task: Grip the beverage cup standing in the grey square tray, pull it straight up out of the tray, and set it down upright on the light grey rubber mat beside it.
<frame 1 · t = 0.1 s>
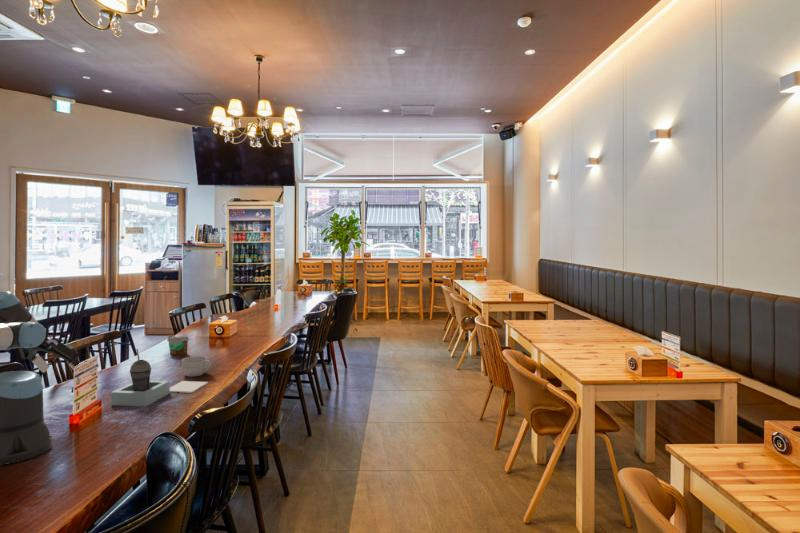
hand: (63, 370, 153), 15 cm above the table, tool tilted 35°, fingers open, 13 cm apart
teacup: (197, 375, 196), on the table
food container: (175, 355, 231), on the table
grey mat: (187, 387, 179), on the table
grey square tray: (141, 398, 166), on the table
beverage cup: (141, 399, 166), resting in grey square tray
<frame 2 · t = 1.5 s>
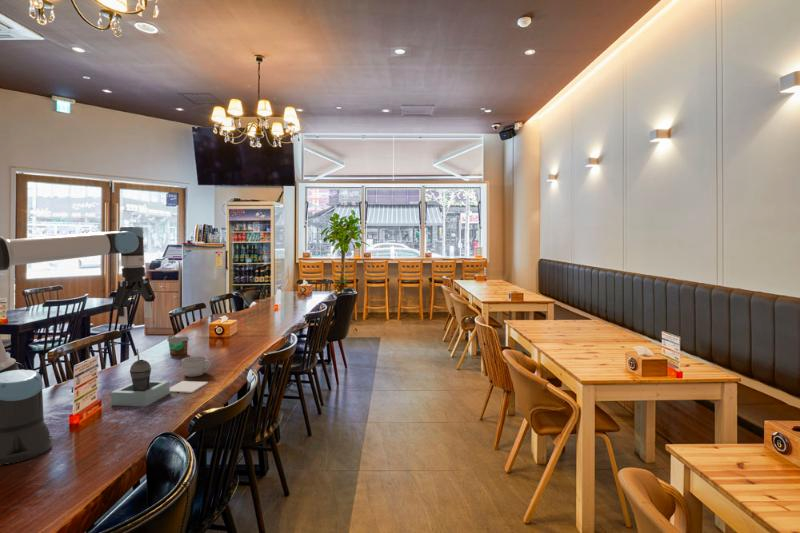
hand: (136, 321, 164), 31 cm above the table, tool pointing down, fingers open, 13 cm apart
nothing on the table moved.
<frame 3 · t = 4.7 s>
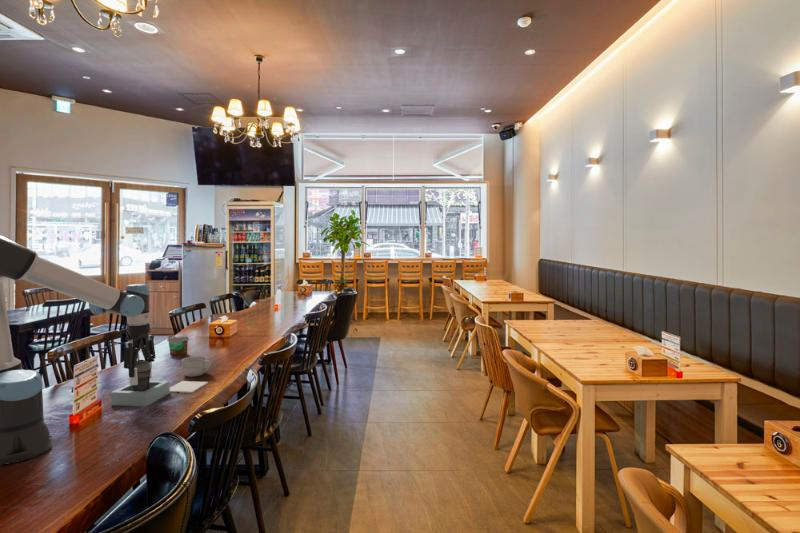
hand: (141, 381, 166), 7 cm above the table, tool pointing down, fingers closed on beverage cup, 7 cm apart
beverage cup: (141, 399, 166), resting in grey square tray, touching gripper
everything else where it was.
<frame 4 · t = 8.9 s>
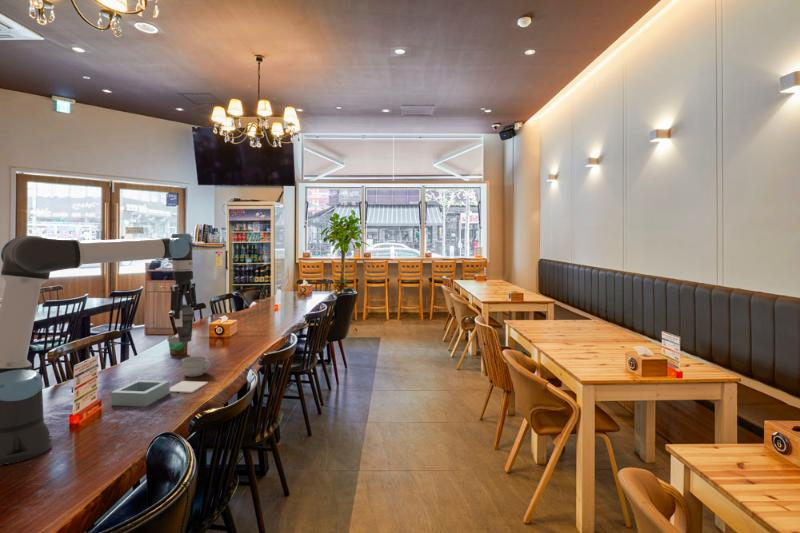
hand: (184, 324, 177), 27 cm above the table, tool pointing down, fingers closed on beverage cup, 7 cm apart
beverage cup: (185, 341, 178), point 20 cm above the table, touching gripper
everything else where it was.
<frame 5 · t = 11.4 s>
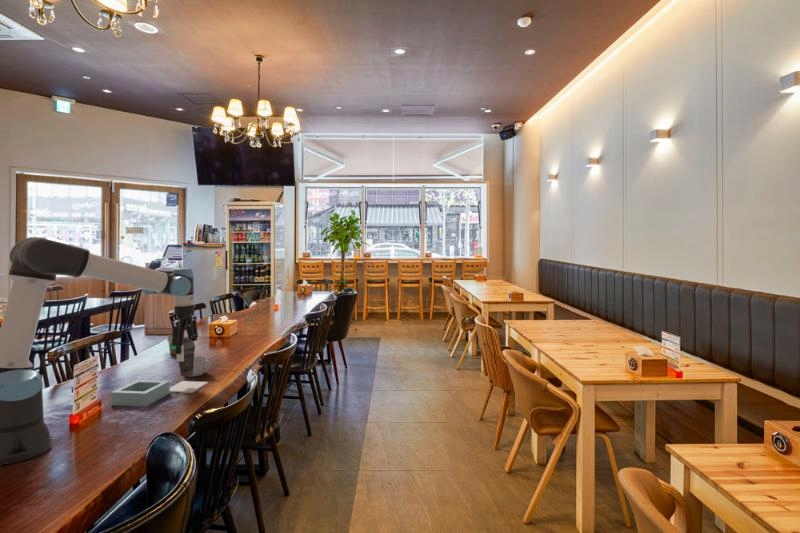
hand: (186, 358, 179), 13 cm above the table, tool pointing down, fingers closed on beverage cup, 7 cm apart
beverage cup: (186, 375, 179), point 5 cm above the table, touching gripper
everything else where it was.
when the fingers open (9 cm above the table, at t = 13.1 s): beverage cup drops 1 cm, resting on grey mat.
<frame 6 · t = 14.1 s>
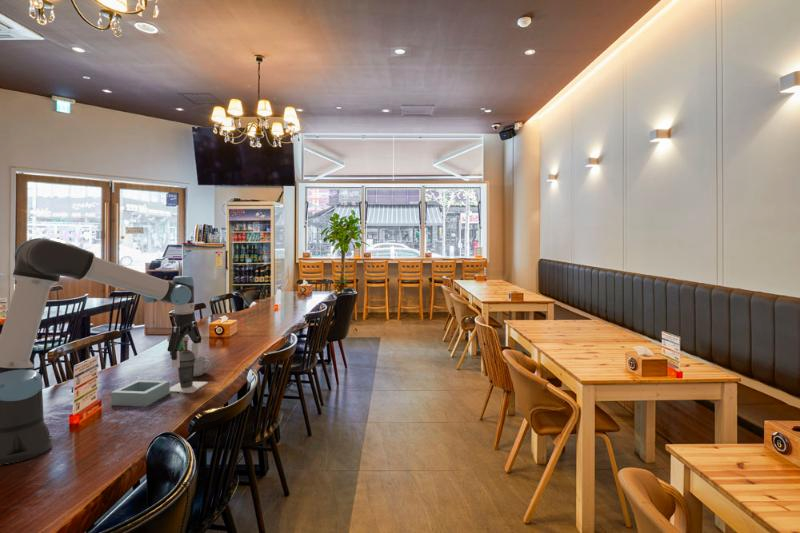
hand: (186, 362, 179), 11 cm above the table, tool pointing down, fingers open, 13 cm apart
beverage cup: (186, 386, 179), resting on grey mat
everything else where it was.
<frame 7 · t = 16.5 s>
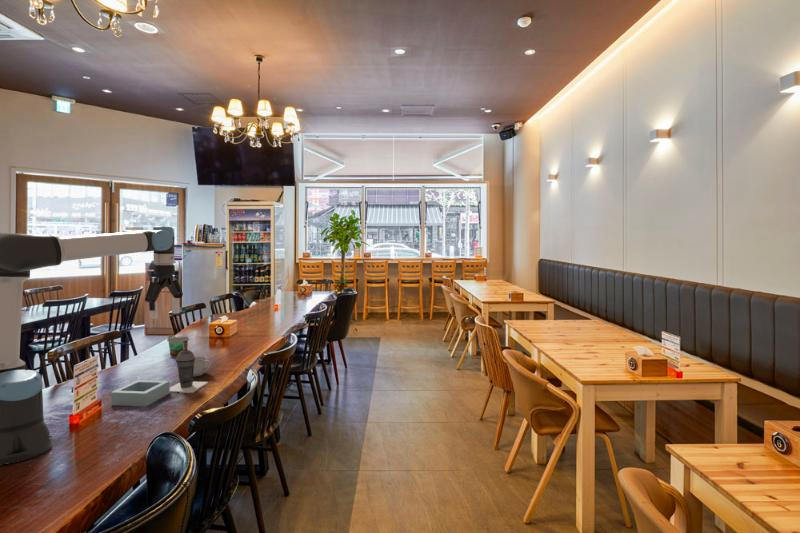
hand: (165, 315, 174), 31 cm above the table, tool pointing down, fingers open, 13 cm apart
nothing on the table moved.
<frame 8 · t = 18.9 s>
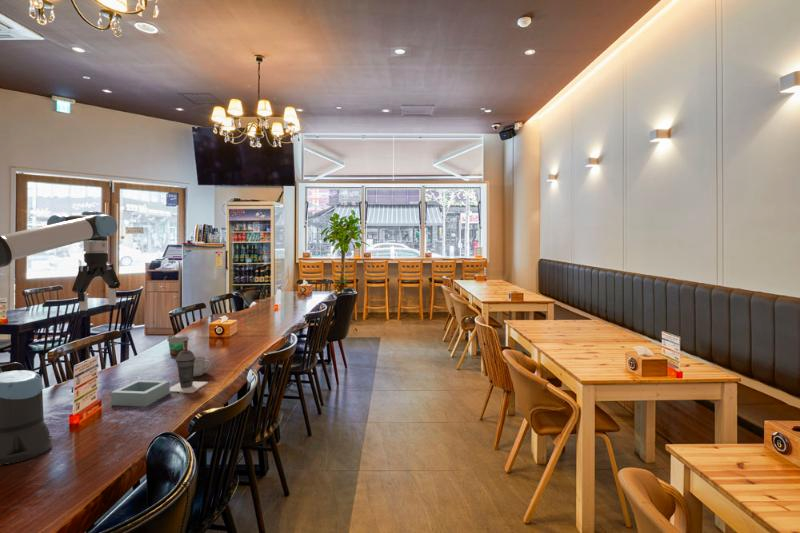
hand: (98, 307, 162), 37 cm above the table, tool pointing down, fingers open, 13 cm apart
nothing on the table moved.
at the end: beverage cup inside the target area (0.2 cm from its centre), resting on grey mat; beverage cup tilted 0°; the gripper is holding nothing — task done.
